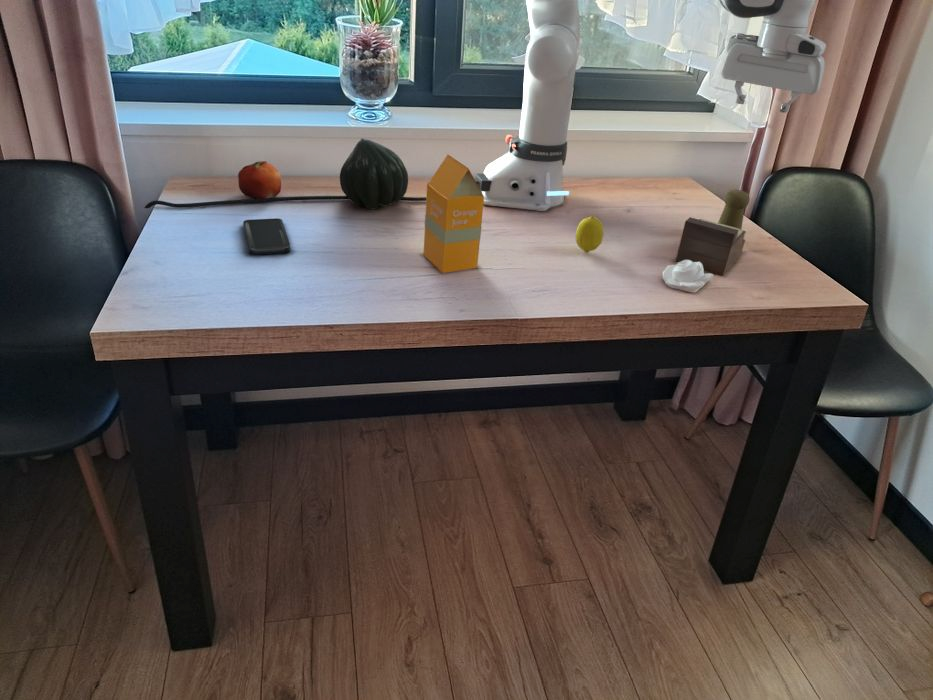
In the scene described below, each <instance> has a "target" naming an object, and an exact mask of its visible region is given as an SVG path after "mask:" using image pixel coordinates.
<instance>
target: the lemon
mask: <svg viewBox="0 0 933 700" xmlns="http://www.w3.org/2000/svg"><path fill="white" fill-rule="evenodd" d="M603 238H604V226H603V224H602V222H601V221H600V220H599V218H596V217H595V216H594V215H591V216H588V217H585V218H584V219H582V220H581V221H580V222H579V223H578V226H577V228H576V232H575V242H576V244H577V246H578V248H579V249H581V250H583V252H584V254H585V253H586V254H587V253H590V252H592V251H595V250H596V249H598V248H599V247H600V246H601V244H602V242H603Z"/></svg>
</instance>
